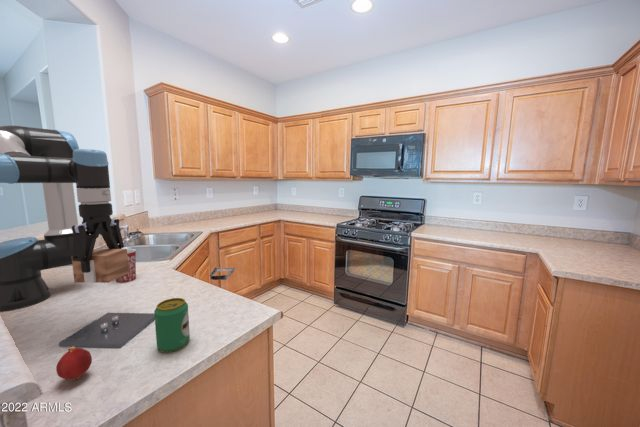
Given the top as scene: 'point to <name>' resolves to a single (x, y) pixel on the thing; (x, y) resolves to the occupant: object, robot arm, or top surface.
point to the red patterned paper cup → (132, 267)
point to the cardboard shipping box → (104, 265)
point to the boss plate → (110, 330)
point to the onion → (74, 363)
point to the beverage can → (172, 324)
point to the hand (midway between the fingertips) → (103, 276)
